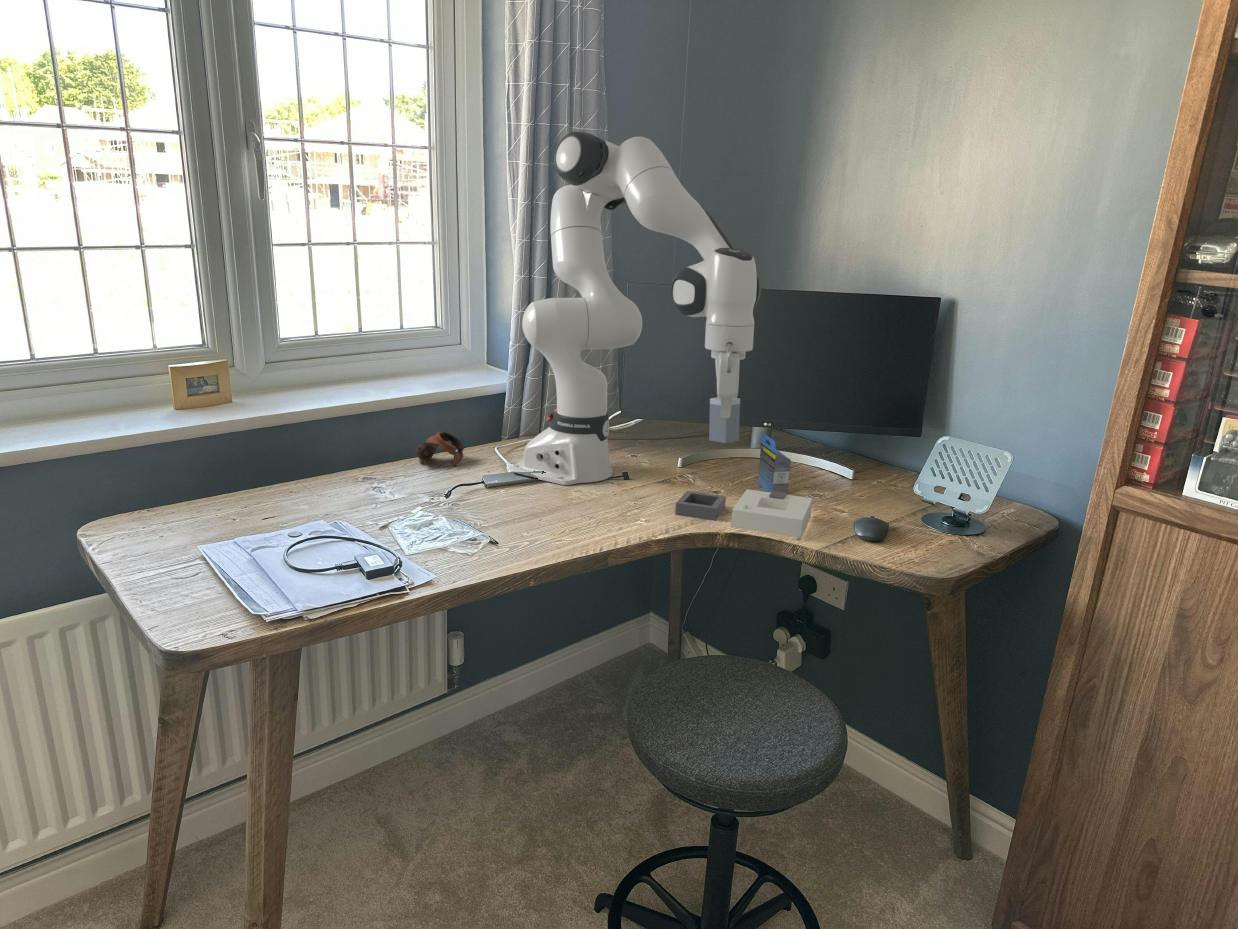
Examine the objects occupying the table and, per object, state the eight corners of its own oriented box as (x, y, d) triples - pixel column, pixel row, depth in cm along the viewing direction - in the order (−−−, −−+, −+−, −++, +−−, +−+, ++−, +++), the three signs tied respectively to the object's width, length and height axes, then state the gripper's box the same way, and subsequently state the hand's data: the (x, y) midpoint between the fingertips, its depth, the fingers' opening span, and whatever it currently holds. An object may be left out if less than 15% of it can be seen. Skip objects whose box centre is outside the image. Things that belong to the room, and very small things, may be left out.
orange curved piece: (432, 456, 199) (449, 428, 197) (459, 480, 195) (476, 451, 193) (399, 456, 188) (416, 426, 186) (426, 481, 184) (444, 450, 182)
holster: (675, 517, 162) (675, 502, 161) (686, 504, 169) (687, 490, 168) (715, 523, 159) (716, 508, 158) (725, 510, 166) (726, 496, 166)
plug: (709, 440, 158) (710, 398, 156) (722, 437, 161) (723, 396, 159) (725, 443, 155) (726, 400, 153) (738, 440, 158) (740, 398, 156)
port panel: (730, 529, 156) (732, 507, 155) (745, 508, 168) (747, 486, 167) (800, 540, 152) (802, 517, 151) (810, 517, 164) (812, 495, 162)
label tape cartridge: (788, 497, 175) (793, 441, 171) (770, 498, 174) (775, 441, 170) (773, 484, 183) (778, 430, 180) (756, 485, 182) (760, 430, 179)
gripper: (748, 347, 143) (743, 426, 147) (744, 333, 162) (740, 402, 166) (711, 346, 143) (707, 424, 147) (711, 332, 163) (708, 401, 167)
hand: (725, 413), depth 157 cm, fingers closed on plug, 6 cm apart
